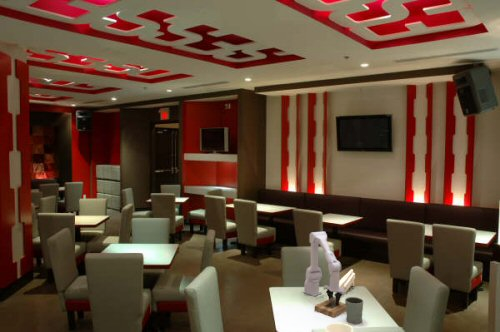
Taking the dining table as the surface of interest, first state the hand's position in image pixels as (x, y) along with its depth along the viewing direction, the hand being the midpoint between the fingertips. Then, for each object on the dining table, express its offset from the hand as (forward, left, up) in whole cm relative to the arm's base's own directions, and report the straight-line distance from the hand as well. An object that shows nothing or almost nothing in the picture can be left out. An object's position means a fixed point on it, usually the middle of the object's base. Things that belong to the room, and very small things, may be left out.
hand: (334, 303), depth 253 cm
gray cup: (+17, -6, -4) cm, 18 cm away
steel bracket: (0, -2, -3) cm, 4 cm away
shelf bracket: (-11, +31, -4) cm, 33 cm away
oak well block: (0, -3, -4) cm, 4 cm away
